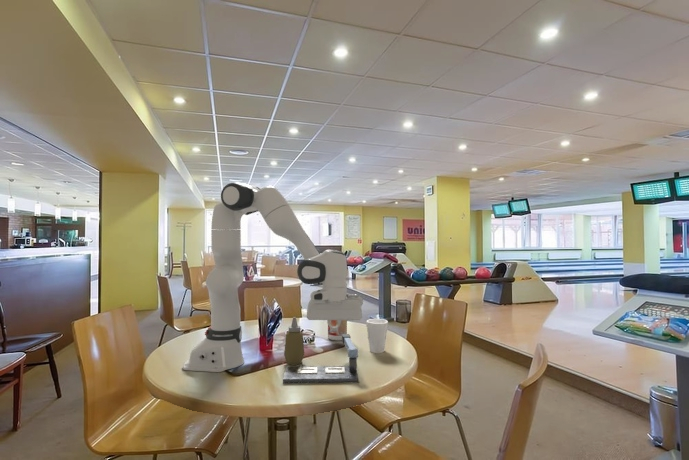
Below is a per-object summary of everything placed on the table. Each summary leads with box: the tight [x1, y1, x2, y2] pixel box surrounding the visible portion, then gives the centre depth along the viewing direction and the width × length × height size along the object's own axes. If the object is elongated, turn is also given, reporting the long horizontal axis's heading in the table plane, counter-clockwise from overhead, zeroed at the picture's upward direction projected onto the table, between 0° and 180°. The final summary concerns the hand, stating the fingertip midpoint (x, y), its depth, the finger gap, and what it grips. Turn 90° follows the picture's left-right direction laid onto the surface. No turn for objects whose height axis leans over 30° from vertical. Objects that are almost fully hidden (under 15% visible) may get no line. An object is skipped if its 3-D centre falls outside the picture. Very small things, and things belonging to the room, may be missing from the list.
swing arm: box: [341, 333, 359, 358], centre depth 141 cm, size 21×4×3 cm, turn 8°
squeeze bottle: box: [283, 316, 305, 366], centre depth 144 cm, size 8×8×18 cm
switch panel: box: [282, 357, 360, 384], centre depth 131 cm, size 26×12×6 cm, turn 93°
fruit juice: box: [327, 320, 348, 341], centre depth 179 cm, size 9×9×28 cm
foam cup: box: [365, 318, 389, 354], centre depth 160 cm, size 10×9×13 cm
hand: (334, 332), depth 132 cm, fingers closed
